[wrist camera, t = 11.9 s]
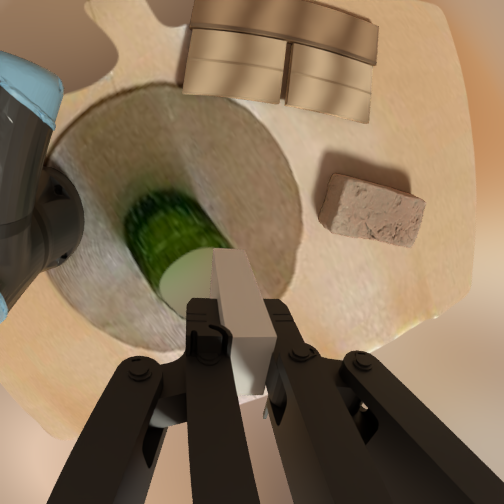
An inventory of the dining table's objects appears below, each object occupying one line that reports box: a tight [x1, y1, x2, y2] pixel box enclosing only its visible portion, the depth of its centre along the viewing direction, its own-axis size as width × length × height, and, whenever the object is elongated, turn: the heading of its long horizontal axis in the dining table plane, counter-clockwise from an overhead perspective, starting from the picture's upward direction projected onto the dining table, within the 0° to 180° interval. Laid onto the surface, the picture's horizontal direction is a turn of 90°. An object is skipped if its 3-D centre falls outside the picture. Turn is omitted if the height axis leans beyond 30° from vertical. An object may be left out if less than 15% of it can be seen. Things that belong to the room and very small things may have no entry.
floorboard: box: [189, 0, 379, 66], centre depth 30 cm, size 26×7×2 cm, turn 82°
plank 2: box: [285, 43, 373, 124], centre depth 34 cm, size 12×9×1 cm
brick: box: [319, 173, 426, 248], centre depth 43 cm, size 17×8×5 cm, turn 78°
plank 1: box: [182, 29, 287, 104], centre depth 32 cm, size 12×9×1 cm
